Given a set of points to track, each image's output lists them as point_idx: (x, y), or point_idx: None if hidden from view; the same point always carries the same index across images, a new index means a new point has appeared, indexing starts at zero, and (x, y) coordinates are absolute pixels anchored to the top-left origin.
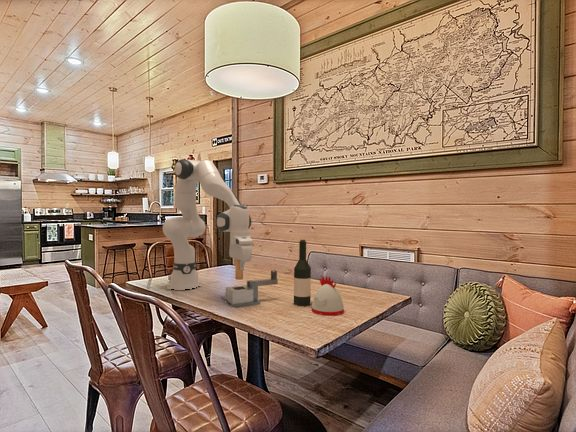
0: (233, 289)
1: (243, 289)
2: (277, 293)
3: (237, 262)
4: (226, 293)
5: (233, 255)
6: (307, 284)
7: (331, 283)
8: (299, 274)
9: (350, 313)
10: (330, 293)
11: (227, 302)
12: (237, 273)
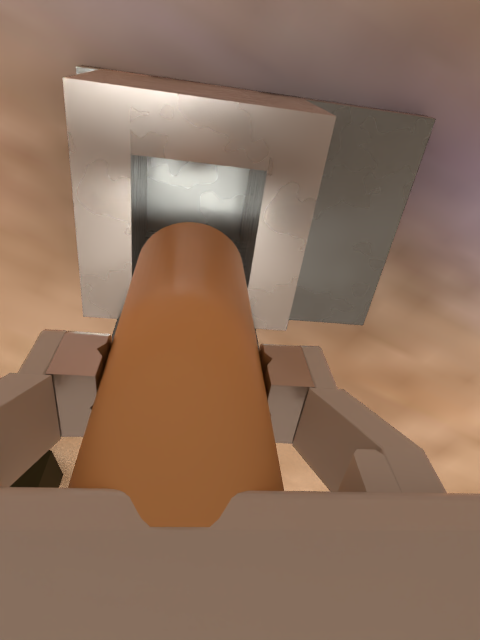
0: (169, 143)
1: (118, 238)
2: (279, 465)
3: (112, 415)
4: (289, 103)
5: (473, 586)
6: None
7: None
8: None
9: None
10: None
11: (244, 89)
12: (145, 272)
